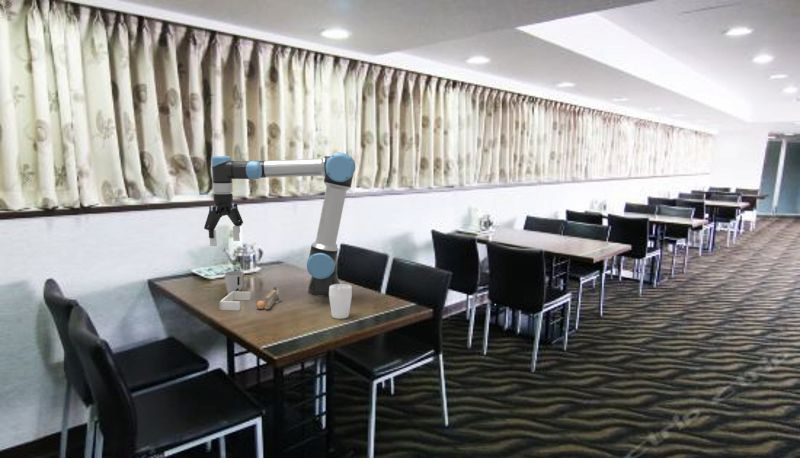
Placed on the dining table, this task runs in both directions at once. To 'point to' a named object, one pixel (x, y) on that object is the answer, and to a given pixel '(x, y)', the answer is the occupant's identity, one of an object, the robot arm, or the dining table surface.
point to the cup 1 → (234, 281)
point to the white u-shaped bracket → (228, 301)
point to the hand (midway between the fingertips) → (225, 243)
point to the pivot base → (278, 300)
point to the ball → (261, 304)
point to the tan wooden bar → (271, 297)
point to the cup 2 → (340, 300)
